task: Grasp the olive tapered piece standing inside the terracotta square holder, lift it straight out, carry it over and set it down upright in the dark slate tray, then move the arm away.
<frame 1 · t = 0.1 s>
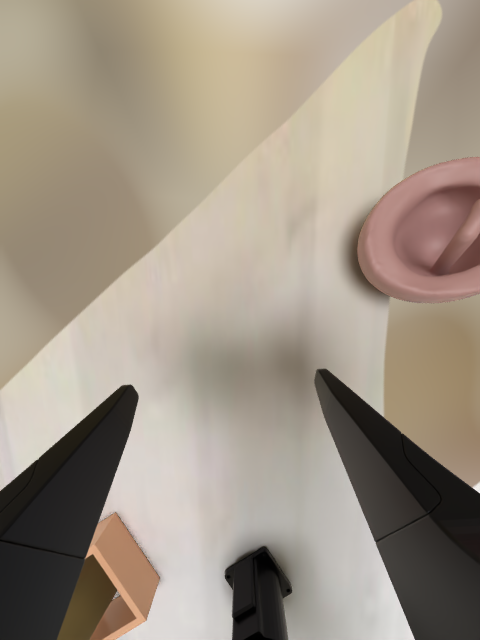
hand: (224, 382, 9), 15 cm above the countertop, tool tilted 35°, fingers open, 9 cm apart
holder: (105, 565, 25), on the countertop
olive tapered piece: (106, 563, 26), resting in holder
mortar and pestle: (384, 258, 24), on the countertop
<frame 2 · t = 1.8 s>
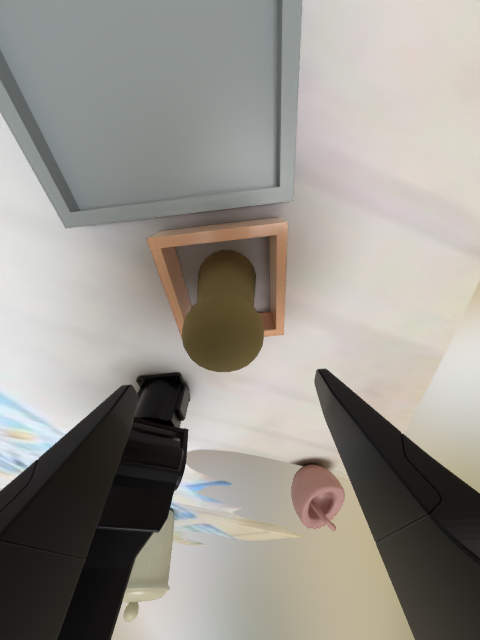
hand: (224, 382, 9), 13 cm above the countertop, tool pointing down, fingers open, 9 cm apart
canister: (156, 509, 67), on the countertop
holder: (227, 279, 20), on the countertop
tray: (154, 91, 12), on the countertop
olive tapered piece: (227, 278, 20), resting in holder
mortar and pestle: (309, 465, 49), on the countertop
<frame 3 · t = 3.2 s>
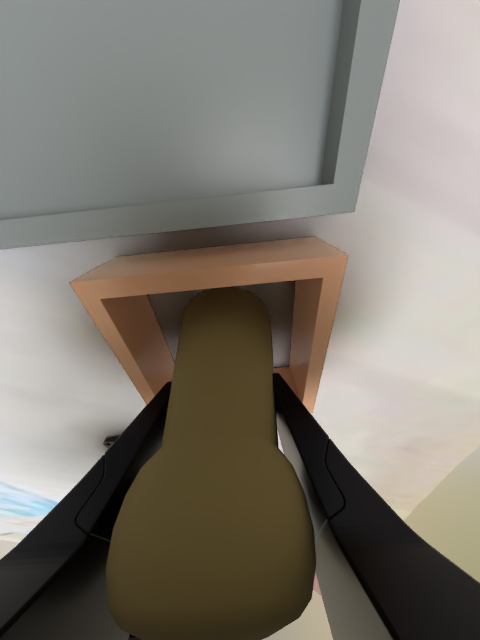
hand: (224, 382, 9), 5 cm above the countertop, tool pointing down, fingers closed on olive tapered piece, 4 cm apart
holder: (226, 327, 13), on the countertop
olive tapered piece: (226, 325, 13), resting in holder, touching gripper
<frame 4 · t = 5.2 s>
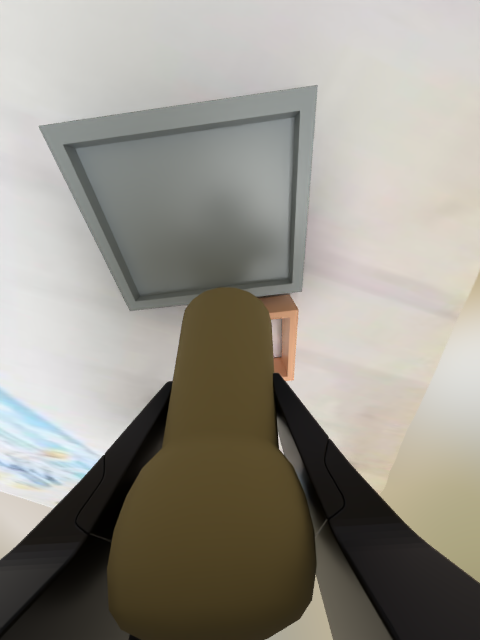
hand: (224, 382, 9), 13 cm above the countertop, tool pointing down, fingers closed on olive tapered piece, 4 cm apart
holder: (247, 335, 25), on the countertop
tray: (202, 224, 17), on the countertop
olive tapered piece: (227, 325, 13), point 9 cm above the countertop, touching gripper
when the fingers open (7 cm above the countertop, at t = 7.1 s): olive tapered piece drops 1 cm, resting on tray.
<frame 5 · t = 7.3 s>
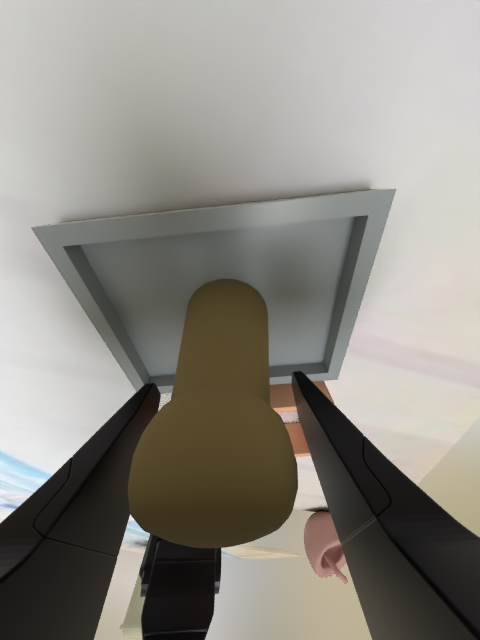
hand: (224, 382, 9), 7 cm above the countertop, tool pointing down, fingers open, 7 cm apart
canister: (168, 540, 70), on the countertop
holder: (267, 405, 22), on the countertop
tray: (227, 309, 15), on the countertop
olive tapered piece: (227, 315, 14), point 1 cm above the countertop, touching tray
mortar and pestle: (320, 510, 52), on the countertop
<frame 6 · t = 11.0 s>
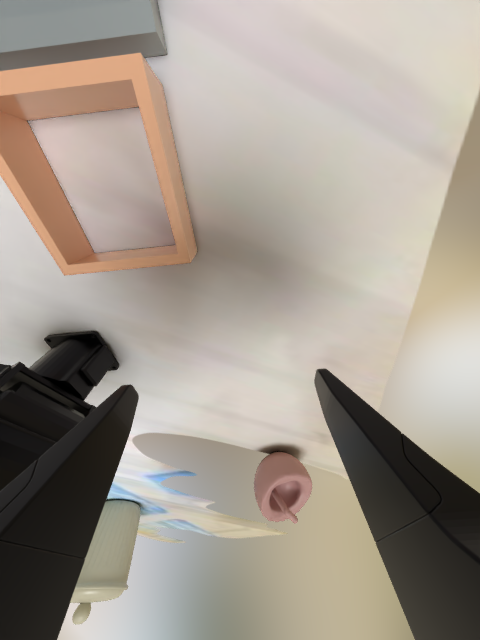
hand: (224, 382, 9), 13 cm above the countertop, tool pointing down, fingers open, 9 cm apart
canister: (121, 503, 63), on the countertop
holder: (119, 191, 15), on the countertop
mortar and pestle: (277, 453, 45), on the countertop
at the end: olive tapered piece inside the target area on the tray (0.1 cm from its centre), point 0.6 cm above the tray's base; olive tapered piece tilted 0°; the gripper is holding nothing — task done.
